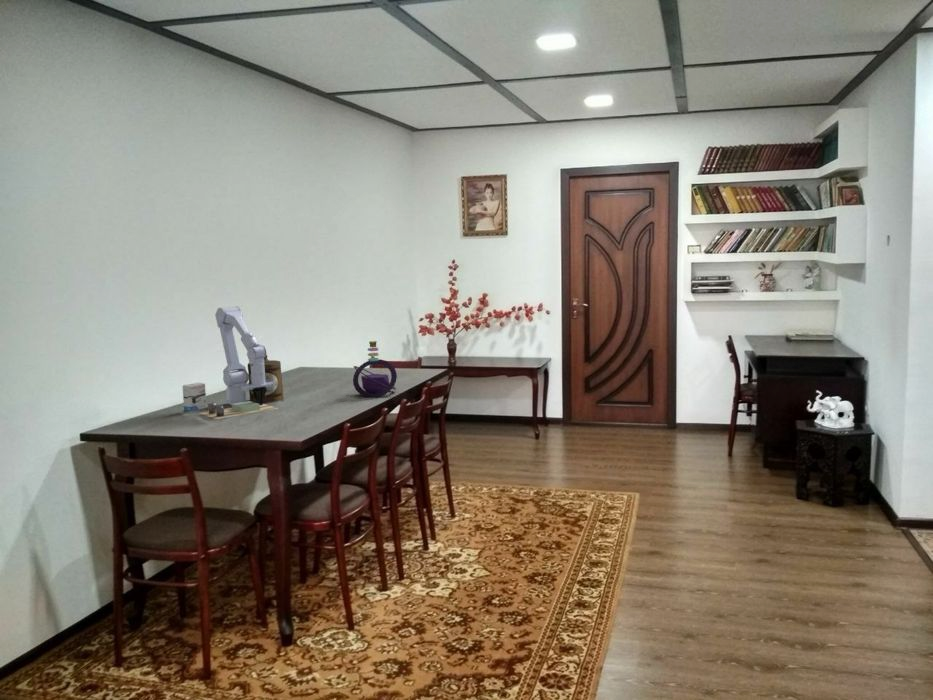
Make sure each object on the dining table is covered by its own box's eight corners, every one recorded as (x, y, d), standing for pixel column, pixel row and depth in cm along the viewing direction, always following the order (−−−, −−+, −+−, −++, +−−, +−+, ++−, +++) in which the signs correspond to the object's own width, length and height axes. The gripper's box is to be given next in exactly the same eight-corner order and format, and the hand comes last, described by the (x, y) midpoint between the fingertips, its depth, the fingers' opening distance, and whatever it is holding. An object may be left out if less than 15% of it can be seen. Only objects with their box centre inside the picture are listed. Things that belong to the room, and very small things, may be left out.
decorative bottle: (344, 397, 353) (341, 344, 350) (361, 389, 373) (359, 338, 370) (390, 398, 347) (388, 343, 344) (405, 390, 368) (403, 338, 365)
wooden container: (245, 405, 342) (242, 356, 339) (255, 399, 357) (252, 352, 354) (278, 404, 342) (275, 355, 339) (287, 398, 356) (284, 351, 354)
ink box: (191, 413, 328) (189, 386, 327) (183, 412, 331) (181, 385, 329) (207, 409, 335) (205, 382, 334) (199, 408, 338) (197, 382, 336)
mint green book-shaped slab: (232, 409, 328) (231, 403, 328) (249, 406, 333) (249, 401, 333) (242, 412, 320) (241, 406, 320) (259, 409, 326) (259, 403, 325)
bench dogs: (207, 413, 321) (207, 403, 321) (214, 412, 323) (213, 402, 323) (218, 416, 313) (217, 407, 313) (225, 415, 315) (224, 406, 315)
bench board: (198, 415, 323) (198, 413, 323) (260, 405, 341) (260, 403, 341) (216, 421, 309) (215, 419, 309) (279, 410, 327) (279, 408, 327)
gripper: (246, 376, 321) (248, 408, 323) (277, 372, 331) (279, 403, 333) (239, 375, 327) (241, 406, 328) (270, 371, 336) (272, 401, 338)
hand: (260, 405), depth 331 cm, fingers closed
